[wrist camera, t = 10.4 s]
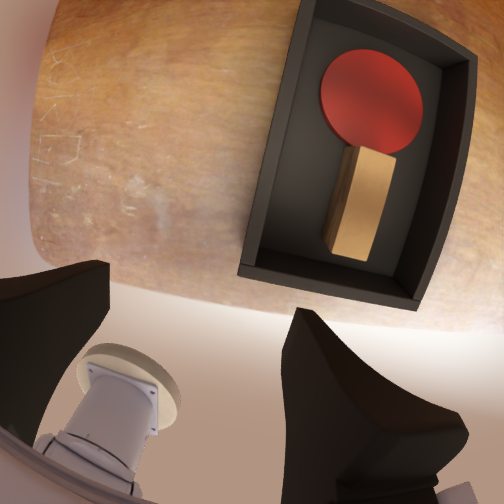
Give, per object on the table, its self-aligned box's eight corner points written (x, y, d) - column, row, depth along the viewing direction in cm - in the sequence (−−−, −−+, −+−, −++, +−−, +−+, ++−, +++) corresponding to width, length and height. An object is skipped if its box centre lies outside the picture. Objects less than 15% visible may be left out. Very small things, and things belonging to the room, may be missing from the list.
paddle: (382, 252, 18) (400, 270, 15) (284, 228, 18) (288, 243, 15) (423, 76, 14) (447, 67, 11) (328, 38, 14) (340, 19, 11)
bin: (394, 285, 20) (416, 312, 16) (242, 252, 19) (236, 276, 16) (447, 67, 14) (478, 56, 10) (299, 7, 14) (306, -22, 10)
